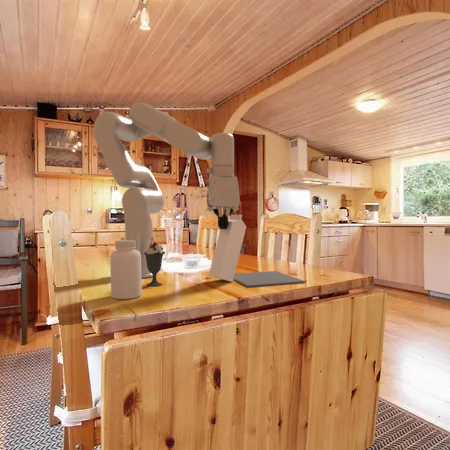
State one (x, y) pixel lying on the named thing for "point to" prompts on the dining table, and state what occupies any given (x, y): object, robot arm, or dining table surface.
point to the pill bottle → (125, 270)
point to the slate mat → (265, 279)
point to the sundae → (154, 261)
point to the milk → (228, 249)
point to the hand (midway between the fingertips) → (223, 228)
